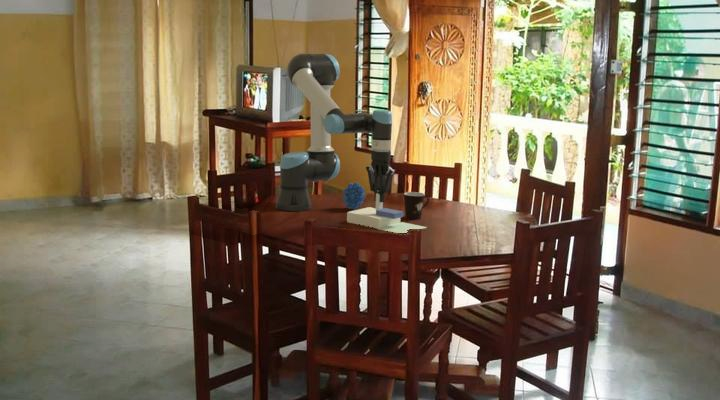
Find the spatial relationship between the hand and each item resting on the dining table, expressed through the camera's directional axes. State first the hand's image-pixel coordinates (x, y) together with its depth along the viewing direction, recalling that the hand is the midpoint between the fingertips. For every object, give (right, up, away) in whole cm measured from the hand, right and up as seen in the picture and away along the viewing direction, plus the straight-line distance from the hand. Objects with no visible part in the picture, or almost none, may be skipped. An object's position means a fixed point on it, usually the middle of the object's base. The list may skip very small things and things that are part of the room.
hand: (379, 209), depth 304 cm
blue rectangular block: (+4, -2, -3) cm, 5 cm away
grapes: (-10, 0, +26) cm, 28 cm away
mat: (+9, -7, -6) cm, 13 cm away
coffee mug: (+16, -4, +14) cm, 21 cm away
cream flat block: (-2, -5, +3) cm, 6 cm away
